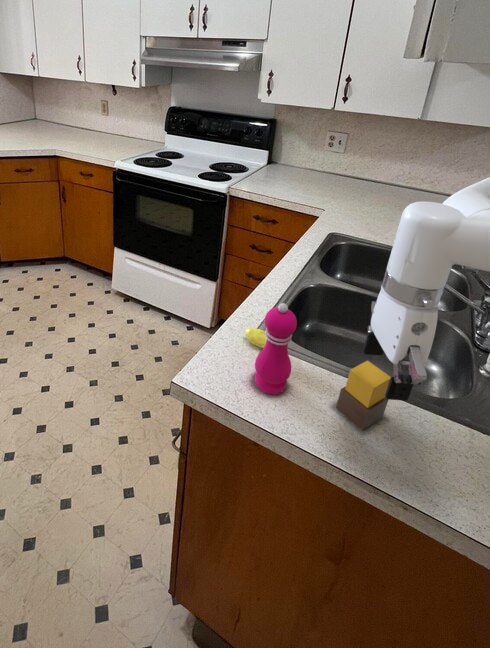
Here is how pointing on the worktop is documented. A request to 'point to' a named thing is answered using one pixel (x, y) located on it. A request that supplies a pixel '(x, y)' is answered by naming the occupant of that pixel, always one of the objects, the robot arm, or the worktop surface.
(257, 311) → the worktop surface
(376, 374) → the mustard block
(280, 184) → the worktop surface
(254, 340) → the lemon
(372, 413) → the walnut block
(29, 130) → the worktop surface
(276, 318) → the pepper mill
